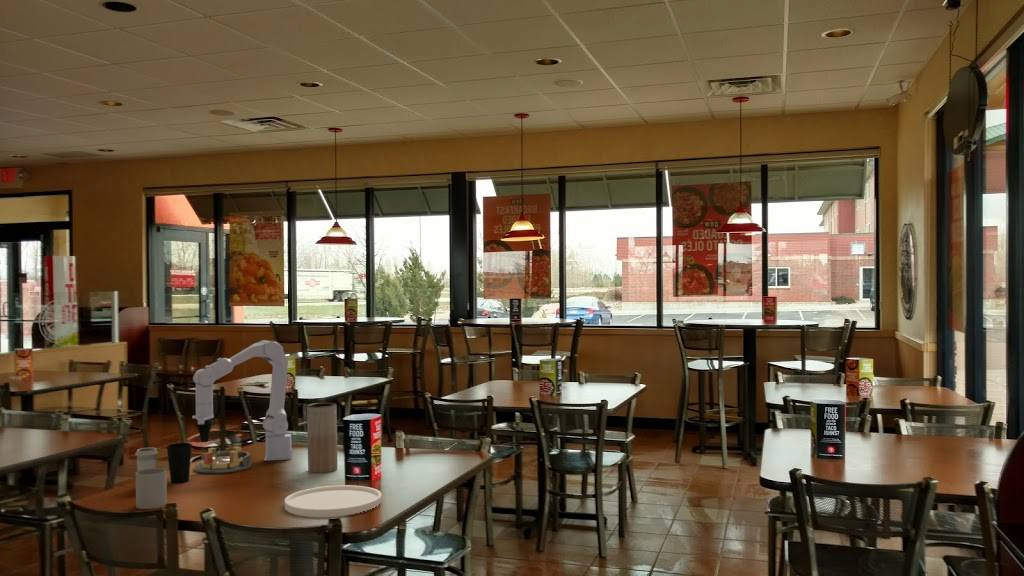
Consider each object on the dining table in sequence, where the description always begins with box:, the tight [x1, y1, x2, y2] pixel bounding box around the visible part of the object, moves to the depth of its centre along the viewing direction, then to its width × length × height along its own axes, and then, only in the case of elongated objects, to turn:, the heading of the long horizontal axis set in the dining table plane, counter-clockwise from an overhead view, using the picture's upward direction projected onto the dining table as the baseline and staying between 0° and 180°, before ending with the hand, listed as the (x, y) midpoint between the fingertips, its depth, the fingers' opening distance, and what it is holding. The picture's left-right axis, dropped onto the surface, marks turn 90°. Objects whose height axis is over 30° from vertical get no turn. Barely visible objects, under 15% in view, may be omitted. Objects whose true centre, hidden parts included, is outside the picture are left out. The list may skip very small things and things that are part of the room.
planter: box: [306, 402, 338, 474], centre depth 292 cm, size 10×10×23 cm
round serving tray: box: [194, 450, 252, 475], centre depth 297 cm, size 19×19×4 cm
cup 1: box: [135, 447, 159, 471], centre depth 271 cm, size 7×7×12 cm
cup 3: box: [166, 442, 193, 484], centre depth 278 cm, size 8×8×12 cm
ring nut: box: [199, 446, 243, 469], centre depth 297 cm, size 15×15×5 cm
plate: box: [284, 484, 383, 518], centre depth 247 cm, size 28×28×2 cm
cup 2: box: [135, 467, 168, 510], centre depth 248 cm, size 8×8×10 cm
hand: (204, 441), depth 296 cm, fingers closed
